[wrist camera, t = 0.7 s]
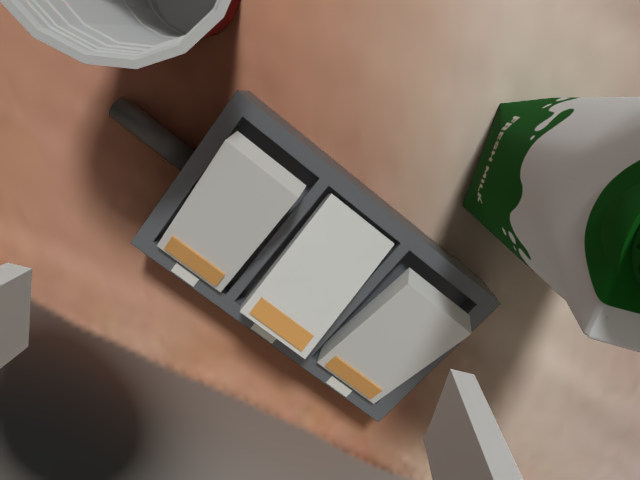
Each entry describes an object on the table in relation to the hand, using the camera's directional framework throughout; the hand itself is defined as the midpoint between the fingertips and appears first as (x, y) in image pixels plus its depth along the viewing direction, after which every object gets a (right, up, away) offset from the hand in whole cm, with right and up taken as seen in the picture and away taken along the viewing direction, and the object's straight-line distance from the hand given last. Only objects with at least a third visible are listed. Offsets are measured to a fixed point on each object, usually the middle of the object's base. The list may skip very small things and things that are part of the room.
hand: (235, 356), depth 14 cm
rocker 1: (-3, +5, +15) cm, 16 cm away
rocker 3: (+7, -2, +16) cm, 18 cm away
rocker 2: (+2, +2, +16) cm, 16 cm away
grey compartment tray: (0, +4, +18) cm, 19 cm away
